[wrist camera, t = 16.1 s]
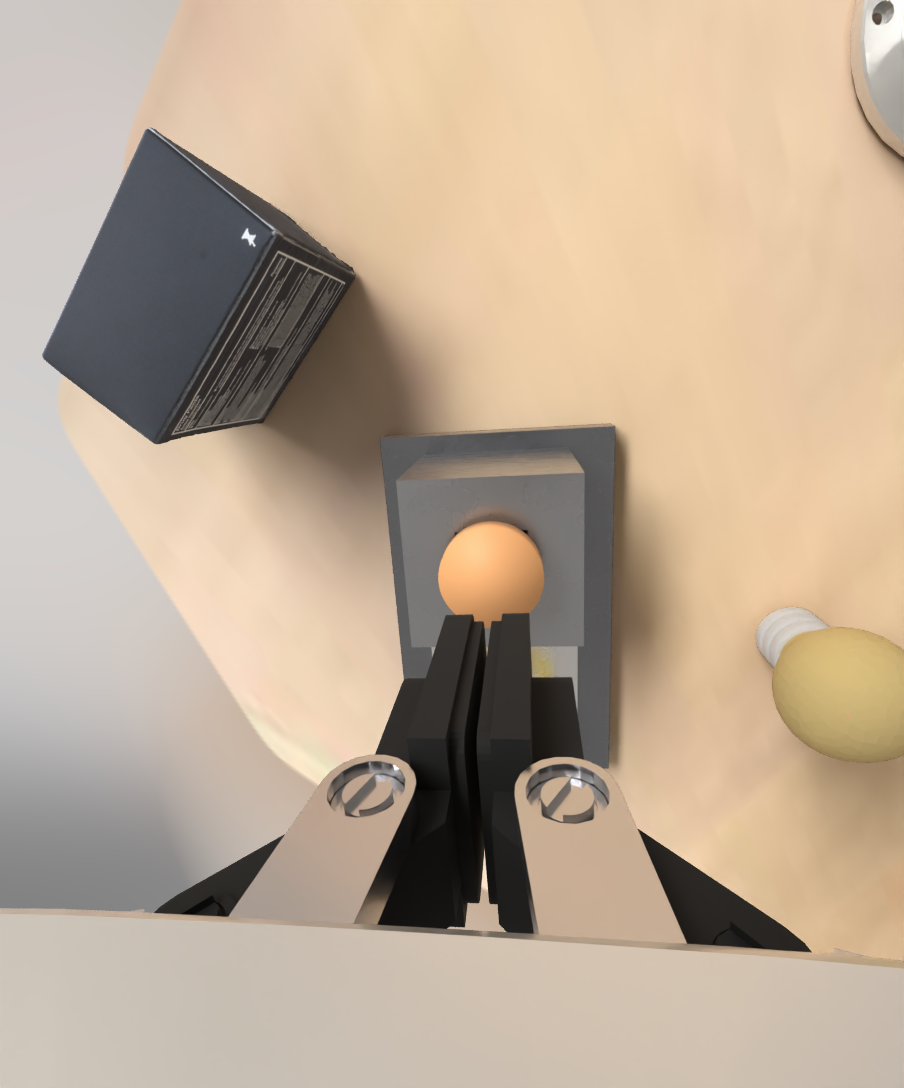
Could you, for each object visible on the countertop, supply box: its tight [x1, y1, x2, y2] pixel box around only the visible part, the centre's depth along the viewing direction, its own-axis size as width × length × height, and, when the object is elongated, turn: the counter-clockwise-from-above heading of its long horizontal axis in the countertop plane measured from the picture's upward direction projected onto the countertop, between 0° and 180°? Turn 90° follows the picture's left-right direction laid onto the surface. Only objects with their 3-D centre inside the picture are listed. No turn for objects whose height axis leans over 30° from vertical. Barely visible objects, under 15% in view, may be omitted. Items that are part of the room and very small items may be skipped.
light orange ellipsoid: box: [438, 521, 544, 628], centre depth 27 cm, size 4×4×8 cm
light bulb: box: [756, 607, 904, 763], centre depth 30 cm, size 6×6×10 cm
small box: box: [42, 127, 355, 444], centre depth 27 cm, size 11×6×10 cm, turn 142°
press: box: [380, 424, 615, 768], centre depth 31 cm, size 13×22×10 cm, turn 3°
